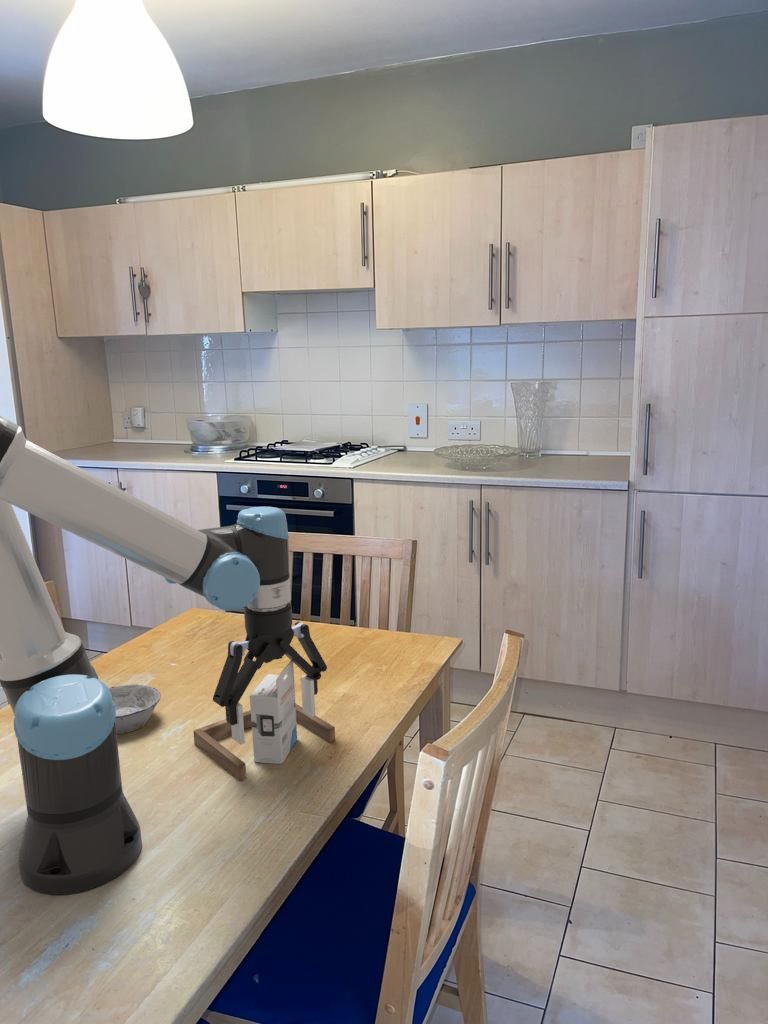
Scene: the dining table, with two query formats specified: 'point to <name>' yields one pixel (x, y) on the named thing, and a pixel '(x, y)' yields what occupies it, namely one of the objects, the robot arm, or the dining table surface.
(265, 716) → the ink box
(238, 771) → the wooden u-shaped frame
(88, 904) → the dining table surface
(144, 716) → the bowl
